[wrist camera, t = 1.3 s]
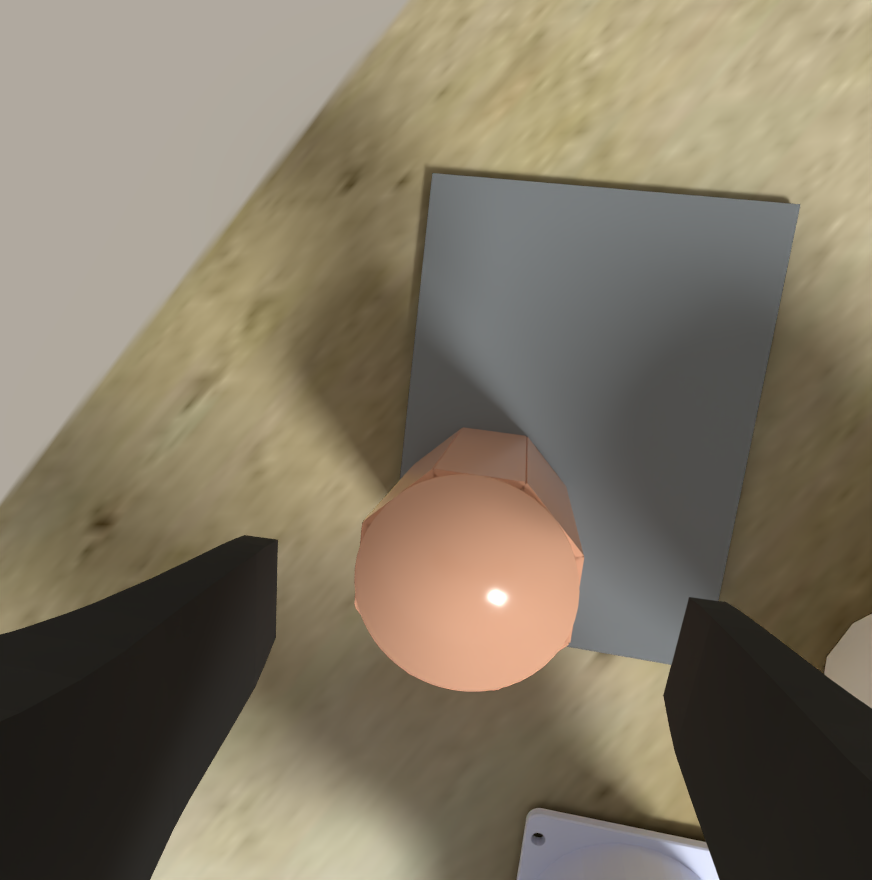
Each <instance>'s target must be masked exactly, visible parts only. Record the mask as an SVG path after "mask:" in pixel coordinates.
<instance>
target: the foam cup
mask: <svg viewBox="0 0 872 880" xmlns="http://www.w3.org/2000/svg"><path fill="white" fill-rule="evenodd" d="M824 675H826V676H827V677H828V678H830V679H831V680H832V681H834V682H835V683H837V684H838V685H839V686H841V687H842V688H843V689H845V690H846V691H848V692H849V693H850V694H852V695H853V696H855V697H856V698H857V699H859V700H860V701H862V702H863V703H865V704H866V705H868V706H869V707H870V708H872V614H870V615H868V616H866V617H864V618H862V619H860V620H858V621H856V622H854V623H853V624H852V625H851V627H850V628H849V629H848V630H847V632H846V633H845V634H844V636H843V637H842V638H841V639H840V641H839V642H838V643H837V645H836V646H835V647H834V648H833V650H832V651H831V652H830V654H829V655H828V656H827V659H826V665H825V671H824Z"/></svg>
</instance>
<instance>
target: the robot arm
mask: <svg viewBox="0 0 872 880" xmlns="http://www.w3.org/2000/svg"><path fill="white" fill-rule="evenodd" d="M277 553H278V540H275V539H268V538H261V537H253V536H246V535H244V536H241V537H239V538H236V539H234V540H231V541H229V542H227V543H225V544H222V545H220V546H218V547H216V548H214V549H212V550H210V551H208V552H206V553H204V554H202V555H199V556H197V557H195V558H193V559H191V560H189V561H187V562H185V563H183V564H181V565H179V566H177V567H175V568H172V569H170V570H168V571H166V572H164V573H162V574H160V575H158V576H156V577H154V578H151V579H149V580H147V581H144V582H142V583H140V584H138V585H135V586H133V587H131V588H128V589H126V590H124V591H121V592H119V593H117V594H114V595H112V596H110V597H107V598H105V599H103V600H100V601H98V602H96V603H93V604H91V605H88V606H85V607H83V608H80V609H77V610H75V611H72V612H69V613H67V614H64V615H61V616H58V617H55V618H52V619H49V620H46V621H43V622H40V623H37V624H34V625H31V626H28V627H25V628H22V629H19V630H16V631H12V632H9V633H5V634H1V635H0V880H150V879H151V876H152V874H153V872H154V870H155V868H156V866H157V864H158V861H159V859H160V857H161V855H162V853H163V851H164V848H165V846H166V844H167V842H168V840H169V838H170V836H171V833H172V831H173V829H174V827H175V826H176V824H177V822H178V820H179V818H180V816H181V814H182V812H183V811H184V809H185V807H186V805H187V803H188V801H189V799H190V798H191V796H192V794H193V793H194V791H195V789H196V788H197V786H198V784H199V782H200V781H201V779H202V777H203V776H204V774H205V772H206V771H207V769H208V767H209V765H210V764H211V762H212V760H213V759H214V757H215V755H216V754H217V752H218V750H219V748H220V747H221V745H222V743H223V742H224V740H225V738H226V737H227V735H228V733H229V731H230V730H231V728H232V726H233V725H234V723H235V721H236V719H237V718H238V716H239V714H240V713H241V711H242V709H243V707H244V706H245V704H246V702H247V700H248V699H249V697H250V695H251V693H252V692H253V690H254V688H255V686H256V684H257V681H258V679H259V677H260V674H261V672H262V670H263V668H264V665H265V663H266V660H267V658H268V655H269V653H270V650H271V648H272V645H273V643H274V640H275V638H276V598H277ZM663 696H664V701H665V706H666V712H667V717H668V722H669V727H670V732H671V737H672V741H673V746H674V750H675V754H676V757H677V760H678V763H679V766H680V769H681V772H682V775H683V778H684V781H685V783H686V786H687V789H688V792H689V795H690V798H691V801H692V804H693V807H694V809H695V812H696V815H697V818H698V821H699V824H700V826H701V829H702V832H703V835H704V838H705V841H706V842H703V841H698V840H693V839H688V838H684V837H679V836H674V835H669V834H664V833H659V832H655V831H650V830H645V829H640V828H635V827H630V826H626V825H621V824H616V823H611V822H606V821H601V820H596V819H592V818H587V817H582V816H577V815H572V814H567V813H563V812H558V811H553V810H548V809H543V808H535V809H532V810H531V811H530V812H529V813H528V815H527V817H526V823H525V829H524V835H523V842H522V848H521V854H520V861H519V867H518V873H517V879H516V880H872V708H870V707H869V706H868V705H866V704H865V703H863V702H862V701H860V700H859V699H857V698H856V697H855V696H853V695H852V694H850V693H849V692H848V691H846V690H845V689H843V688H842V687H841V686H839V685H838V684H837V683H835V682H834V681H832V680H831V679H830V678H828V677H827V676H826V675H824V674H823V673H822V672H820V671H819V670H818V669H816V668H815V667H814V666H812V665H811V664H810V663H808V662H807V661H806V660H804V659H803V658H802V657H800V656H799V655H798V654H797V653H795V652H794V651H793V650H791V649H790V648H789V647H787V646H786V645H785V644H783V643H782V642H781V641H780V640H778V639H777V638H776V637H774V636H773V635H772V634H770V633H769V632H768V631H766V630H765V629H764V628H762V627H761V626H760V625H758V624H757V623H756V622H754V621H753V620H752V619H750V618H749V617H748V616H746V615H745V614H743V613H742V612H741V611H739V610H738V609H736V608H735V607H733V606H731V605H730V604H728V603H726V602H721V601H714V600H707V599H700V598H692V597H689V599H688V603H687V607H686V611H685V615H684V619H683V622H682V626H681V630H680V634H679V638H678V642H677V645H676V649H675V653H674V657H673V661H672V665H671V668H670V672H669V676H668V680H667V684H666V688H665V691H664V695H663ZM535 833H541V834H543V835H544V836H542V837H535V836H533V834H535Z"/></svg>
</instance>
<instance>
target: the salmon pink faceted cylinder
mask: <svg viewBox="0 0 872 880" xmlns="http://www.w3.org/2000/svg"><path fill="white" fill-rule="evenodd" d="M583 563H584V554H583V550H582V546H581V542H580V539H579V535H578V531H577V527H576V523H575V519H574V515H573V511H572V507H571V503H570V499H569V495H568V491H567V487H566V485H565V484H564V483H563V482H562V480H561V479H560V478H559V476H558V475H557V474H556V472H555V471H554V470H553V469H552V467H551V466H550V465H549V463H548V462H547V461H546V460H545V458H544V457H543V456H542V454H541V453H540V452H539V451H538V449H537V448H536V447H535V445H534V444H533V443H532V442H531V440H530V439H529V438H528V437H526V436H524V435H517V434H509V433H502V432H494V431H487V430H479V429H472V428H465V427H463V428H461V429H460V430H458V431H457V432H456V433H454V434H453V435H452V436H450V437H449V438H448V439H446V440H445V441H444V442H443V443H441V444H440V445H439V446H437V447H436V448H435V449H433V450H432V451H431V452H430V453H428V454H427V455H426V456H424V457H423V458H422V459H420V460H419V461H418V462H416V463H415V464H414V465H413V466H412V467H411V468H410V469H409V470H408V472H407V473H406V474H405V475H404V476H403V477H402V478H401V479H400V480H399V482H398V483H397V484H396V485H395V486H394V487H393V488H392V489H391V491H390V492H389V493H388V494H387V495H386V496H385V497H384V498H383V499H382V501H381V502H380V503H379V504H378V505H377V506H376V507H375V508H374V510H373V511H372V512H371V513H370V514H369V515H368V516H367V517H366V518H365V520H364V521H363V523H362V530H361V541H360V548H359V551H358V554H357V559H356V565H355V582H354V583H355V592H356V593H355V603H354V605H355V608H356V609H357V610H358V612H359V613H360V614H361V616H362V619H363V621H364V624H365V625H366V627H367V629H368V631H369V633H370V635H371V636H372V638H373V639H374V641H375V642H376V643H377V645H378V646H379V647H380V649H381V650H382V651H383V652H384V653H385V654H386V655H387V656H388V657H389V658H390V659H391V660H392V661H393V662H394V663H396V664H397V665H398V666H399V667H401V668H402V669H403V670H405V671H406V672H407V673H408V674H410V675H413V676H415V677H417V678H419V679H420V680H422V681H425V682H427V683H430V684H433V685H435V686H438V687H442V688H446V689H450V690H458V691H488V690H494V691H496V689H497V690H499V689H501V688H503V687H507V686H510V685H512V684H515V683H517V682H520V681H522V680H524V679H526V678H527V677H529V676H531V675H533V674H534V673H536V672H537V671H538V670H540V669H541V668H542V667H544V666H545V665H546V664H547V663H548V662H549V661H550V660H551V659H552V658H553V657H554V656H555V655H556V653H557V652H558V651H560V650H561V649H563V648H565V647H566V646H568V645H569V643H570V642H571V636H572V630H573V624H574V621H575V618H576V614H577V609H578V604H579V593H580V591H579V587H580V581H581V575H582V569H583Z"/></svg>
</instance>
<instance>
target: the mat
mask: <svg viewBox="0 0 872 880" xmlns="http://www.w3.org/2000/svg"><path fill="white" fill-rule="evenodd" d="M799 209H800V204H789V203H777V202H766V201H754V200H742V199H730V198H719V197H707V196H695V195H684V194H672V193H660V192H648V191H637V190H625V189H613V188H601V187H590V186H578V185H566V184H555V183H543V182H531V181H519V180H508V179H496V178H484V177H472V176H461V175H449V174H437V173H432V182H431V191H430V200H429V210H428V219H427V229H426V238H425V248H424V257H423V266H422V276H421V285H420V295H419V304H418V314H417V323H416V332H415V342H414V351H413V361H412V370H411V379H410V389H409V398H408V408H407V417H406V427H405V436H404V445H403V455H402V464H401V474H400V479H401V478H402V477H403V476H404V475H405V474H406V473H407V472H408V470H409V469H410V468H411V467H412V466H413V465H414V464H415V463H416V462H418V461H419V460H420V459H422V458H423V457H424V456H426V455H427V454H428V453H430V452H431V451H432V450H433V449H435V448H436V447H437V446H439V445H440V444H441V443H443V442H444V441H445V440H446V439H448V438H449V437H450V436H452V435H453V434H454V433H456V432H457V431H458V430H460V429H461V428H463V427H465V428H472V429H479V430H487V431H494V432H502V433H509V434H517V435H524V436H526V437H528V438H529V439H530V440H531V442H532V443H533V444H534V445H535V447H536V448H537V449H538V451H539V452H540V453H541V454H542V456H543V457H544V458H545V460H546V461H547V462H548V463H549V465H550V466H551V467H552V469H553V470H554V471H555V472H556V474H557V475H558V476H559V478H560V479H561V480H562V482H563V483H564V484H565V485H566V487H567V491H568V495H569V499H570V503H571V507H572V511H573V515H574V519H575V523H576V527H577V531H578V535H579V539H580V542H581V546H582V550H583V554H584V563H583V569H582V575H581V581H580V587H579V591H580V593H579V604H578V609H577V614H576V618H575V621H574V624H573V630H572V636H571V642H570V643H569V645H568V646H567V647H573V648H578V649H584V650H590V651H596V652H601V653H607V654H613V655H618V656H624V657H630V658H636V659H641V660H647V661H653V662H659V663H664V664H670V665H672V661H673V657H674V653H675V649H676V645H677V642H678V638H679V634H680V630H681V626H682V622H683V619H684V615H685V611H686V607H687V603H688V599H689V597H692V598H700V599H707V600H714V601H718V600H719V596H720V591H721V586H722V581H723V576H724V571H725V567H726V562H727V557H728V552H729V547H730V542H731V538H732V533H733V528H734V523H735V518H736V513H737V509H738V504H739V499H740V494H741V489H742V484H743V480H744V475H745V470H746V465H747V460H748V455H749V451H750V446H751V441H752V436H753V431H754V426H755V422H756V417H757V412H758V407H759V402H760V397H761V393H762V388H763V383H764V378H765V373H766V368H767V363H768V359H769V354H770V349H771V344H772V339H773V334H774V330H775V325H776V320H777V315H778V310H779V305H780V301H781V296H782V291H783V286H784V281H785V276H786V272H787V267H788V262H789V257H790V252H791V247H792V243H793V238H794V233H795V228H796V223H797V218H798V214H799Z"/></svg>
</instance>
